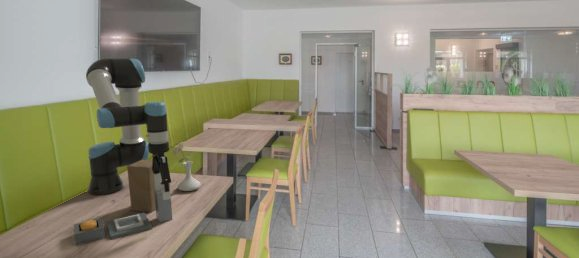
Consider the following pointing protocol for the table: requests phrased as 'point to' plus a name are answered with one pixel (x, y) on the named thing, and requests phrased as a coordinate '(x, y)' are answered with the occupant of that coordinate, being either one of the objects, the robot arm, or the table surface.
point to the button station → (89, 232)
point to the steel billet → (162, 207)
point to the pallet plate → (128, 225)
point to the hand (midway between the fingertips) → (162, 193)
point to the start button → (88, 225)
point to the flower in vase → (189, 181)
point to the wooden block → (141, 186)
